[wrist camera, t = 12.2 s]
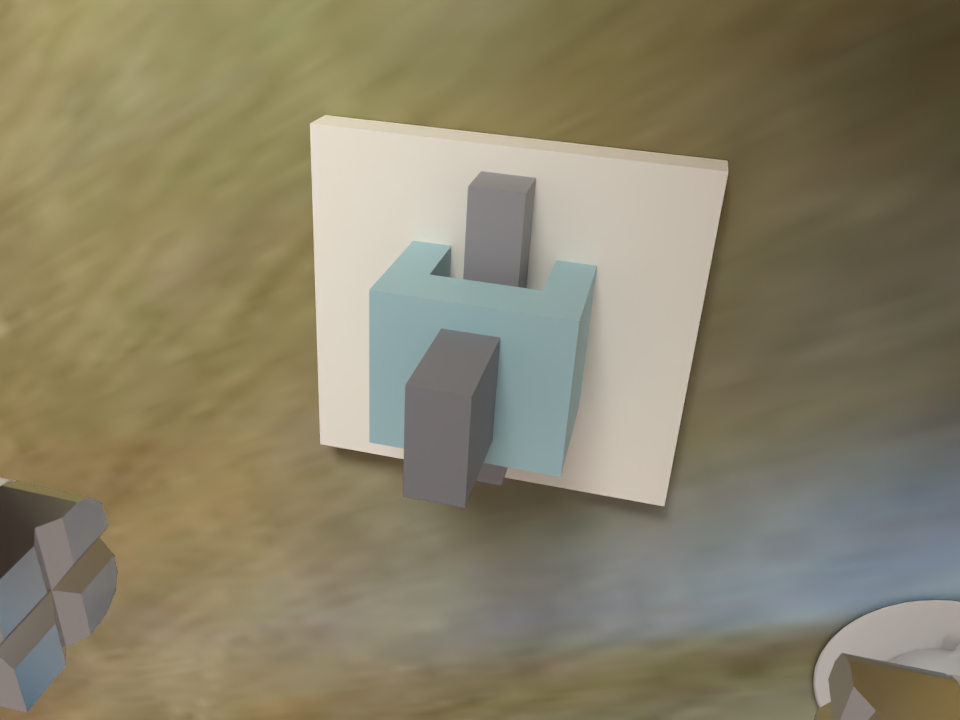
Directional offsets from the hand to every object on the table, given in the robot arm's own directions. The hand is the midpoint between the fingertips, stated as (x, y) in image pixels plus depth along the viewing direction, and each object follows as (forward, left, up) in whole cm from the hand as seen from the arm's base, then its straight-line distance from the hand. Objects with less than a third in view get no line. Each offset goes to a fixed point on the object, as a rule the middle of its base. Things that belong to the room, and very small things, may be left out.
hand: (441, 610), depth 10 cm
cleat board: (+8, -4, -25) cm, 26 cm away
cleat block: (+8, -4, -24) cm, 25 cm away
